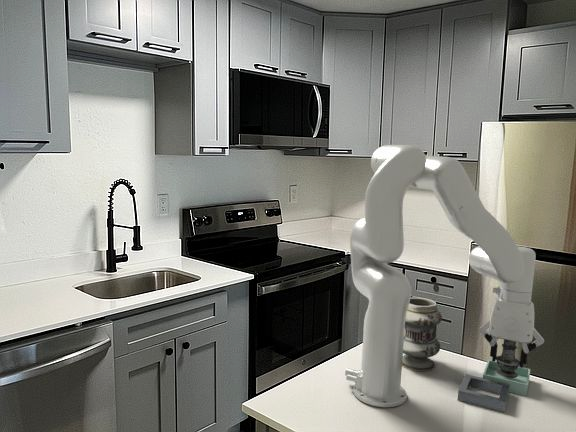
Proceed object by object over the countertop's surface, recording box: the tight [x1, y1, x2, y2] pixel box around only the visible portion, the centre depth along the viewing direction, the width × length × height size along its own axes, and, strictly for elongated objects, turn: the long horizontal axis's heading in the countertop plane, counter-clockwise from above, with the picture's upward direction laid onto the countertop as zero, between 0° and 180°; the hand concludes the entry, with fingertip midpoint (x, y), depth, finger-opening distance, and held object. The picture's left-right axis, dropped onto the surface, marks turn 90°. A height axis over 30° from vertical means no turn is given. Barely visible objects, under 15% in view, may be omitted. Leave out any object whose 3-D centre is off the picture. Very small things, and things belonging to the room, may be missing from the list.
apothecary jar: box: [402, 297, 443, 372], centre depth 137 cm, size 12×12×18 cm
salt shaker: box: [495, 339, 520, 378], centre depth 128 cm, size 6×6×12 cm
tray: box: [482, 359, 531, 397], centre depth 129 cm, size 10×10×3 cm
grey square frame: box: [457, 373, 510, 413], centre depth 121 cm, size 10×10×2 cm
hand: (507, 362), depth 128 cm, fingers closed on salt shaker, 5 cm apart
